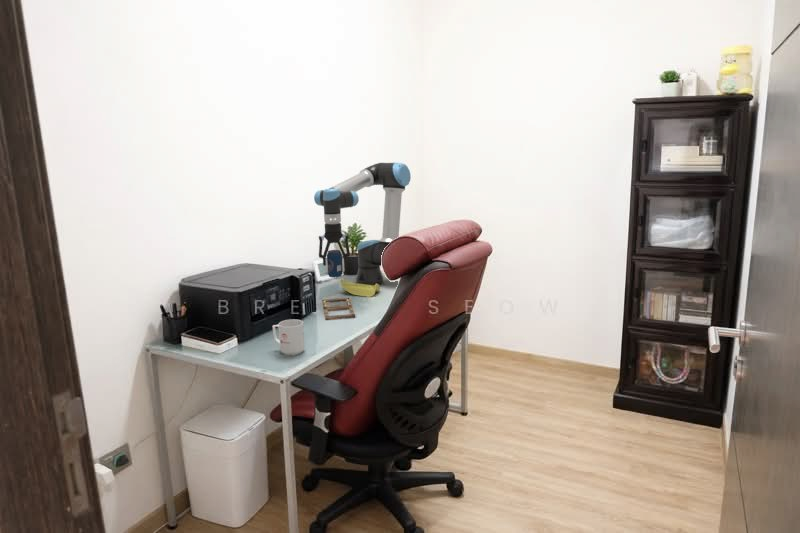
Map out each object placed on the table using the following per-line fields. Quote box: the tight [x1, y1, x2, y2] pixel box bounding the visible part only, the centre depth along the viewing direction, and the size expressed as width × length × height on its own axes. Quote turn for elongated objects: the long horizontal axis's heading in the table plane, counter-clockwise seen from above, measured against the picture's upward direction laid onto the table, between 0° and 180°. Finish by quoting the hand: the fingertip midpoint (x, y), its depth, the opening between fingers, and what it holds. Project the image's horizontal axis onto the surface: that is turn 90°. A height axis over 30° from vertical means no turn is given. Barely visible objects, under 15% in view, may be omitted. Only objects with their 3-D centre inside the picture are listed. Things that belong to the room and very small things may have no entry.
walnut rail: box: [321, 297, 356, 321], centre depth 254 cm, size 29×13×1 cm, turn 11°
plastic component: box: [339, 278, 381, 298], centre depth 281 cm, size 20×7×10 cm
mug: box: [271, 318, 306, 356], centre depth 203 cm, size 12×9×11 cm
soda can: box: [326, 249, 344, 279], centre depth 257 cm, size 7×7×12 cm
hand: (335, 271), depth 257 cm, fingers closed on soda can, 7 cm apart
